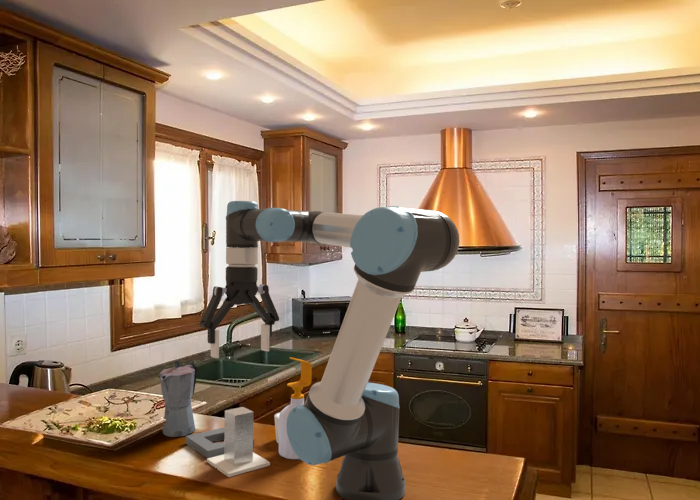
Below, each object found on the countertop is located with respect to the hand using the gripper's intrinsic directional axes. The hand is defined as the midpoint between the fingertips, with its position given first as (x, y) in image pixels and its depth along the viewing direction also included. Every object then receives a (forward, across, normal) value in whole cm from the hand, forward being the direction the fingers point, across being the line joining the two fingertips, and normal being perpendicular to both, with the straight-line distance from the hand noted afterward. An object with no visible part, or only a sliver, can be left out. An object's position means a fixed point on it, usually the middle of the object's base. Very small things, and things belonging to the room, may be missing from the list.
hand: (240, 353), depth 135 cm
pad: (+27, 0, 0) cm, 27 cm away
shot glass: (+27, -18, -6) cm, 33 cm away
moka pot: (+27, +2, -30) cm, 41 cm away
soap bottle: (+27, -15, +2) cm, 31 cm away
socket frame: (+27, -2, -14) cm, 30 cm away
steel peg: (+26, 0, 0) cm, 26 cm away
